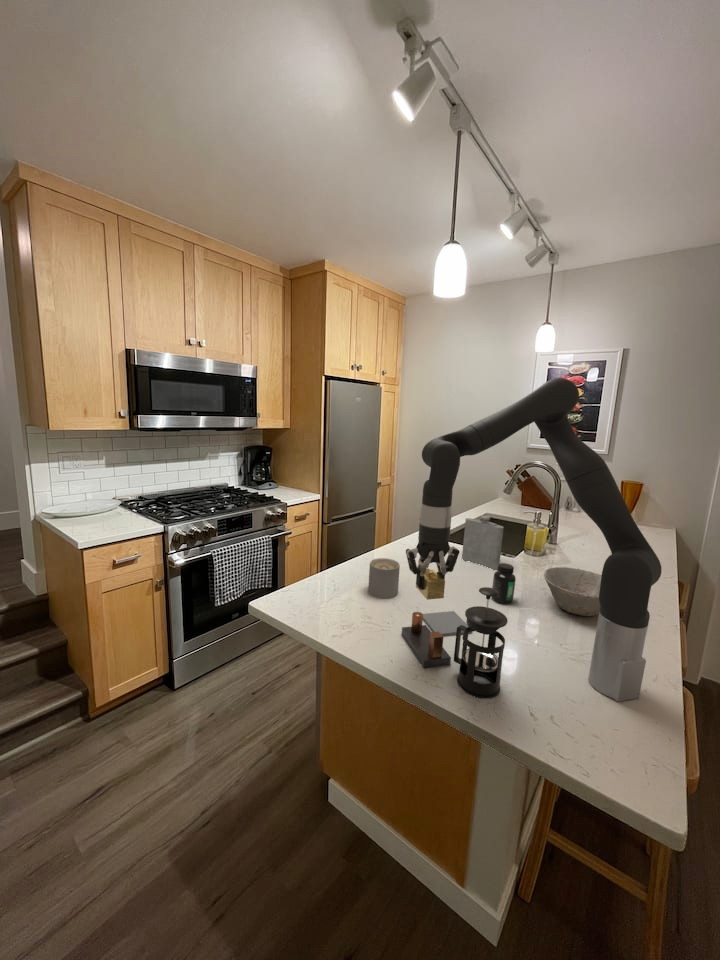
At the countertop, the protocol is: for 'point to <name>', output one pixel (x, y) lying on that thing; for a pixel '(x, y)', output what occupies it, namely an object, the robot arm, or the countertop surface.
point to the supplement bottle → (504, 584)
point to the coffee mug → (383, 578)
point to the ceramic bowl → (575, 589)
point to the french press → (481, 649)
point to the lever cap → (432, 585)
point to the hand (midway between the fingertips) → (429, 587)
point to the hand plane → (425, 643)
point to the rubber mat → (444, 622)
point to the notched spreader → (482, 542)
